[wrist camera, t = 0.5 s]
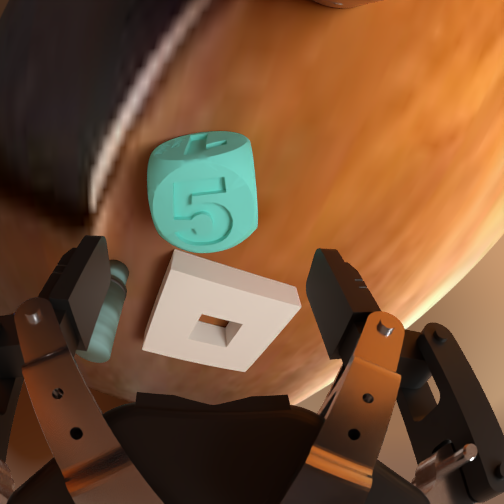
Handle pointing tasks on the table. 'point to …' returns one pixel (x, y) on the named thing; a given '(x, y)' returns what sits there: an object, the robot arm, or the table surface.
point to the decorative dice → (203, 191)
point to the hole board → (217, 313)
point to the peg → (108, 316)
